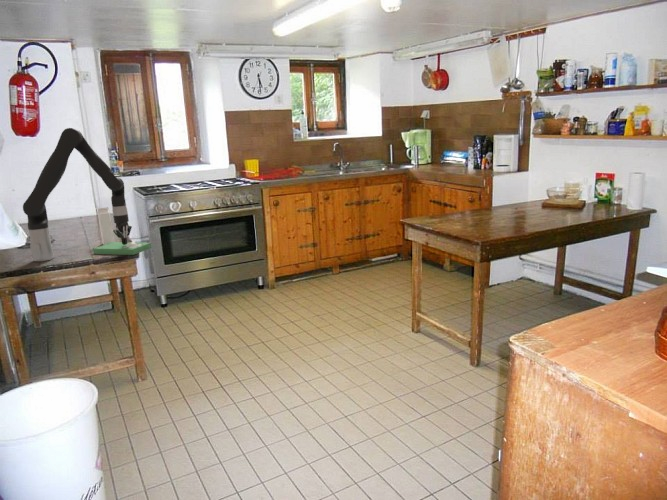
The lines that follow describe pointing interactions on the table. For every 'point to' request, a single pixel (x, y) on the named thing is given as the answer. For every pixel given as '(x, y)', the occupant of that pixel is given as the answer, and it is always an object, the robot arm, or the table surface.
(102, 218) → the milk
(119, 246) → the green
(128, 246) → the ball
